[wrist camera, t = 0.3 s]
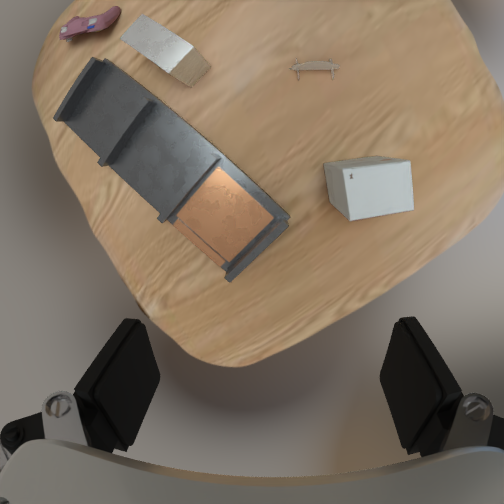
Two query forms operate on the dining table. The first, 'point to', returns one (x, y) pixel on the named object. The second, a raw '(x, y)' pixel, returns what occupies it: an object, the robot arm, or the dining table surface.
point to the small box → (370, 186)
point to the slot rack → (172, 166)
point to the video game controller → (88, 24)
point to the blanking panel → (166, 50)
